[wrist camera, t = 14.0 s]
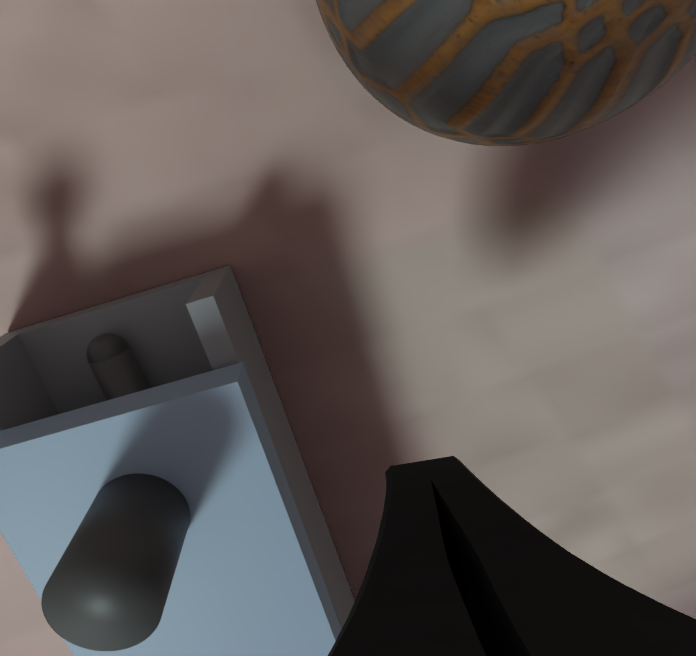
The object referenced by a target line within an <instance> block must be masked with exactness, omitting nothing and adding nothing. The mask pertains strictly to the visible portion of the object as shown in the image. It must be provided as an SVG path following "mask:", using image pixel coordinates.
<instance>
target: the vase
mask: <svg viewBox="0 0 696 656" xmlns="http://www.w3.org/2000/svg"><path fill="white" fill-rule="evenodd" d="M316 2H317V5H318V8H319V11H320V14H321V17H322V19H323V22H324V24H325V26H326V29H327V31H328V33H329V36H330V38H331V40H332V41H333V43H334V45H335V47H336V49H337V51H338V53H339V54H340V56H341V57H342V59H343V61H344V62H345V64H346V65H347V67H348V68H349V69H350V71H351V72H352V74H353V75H354V76H355V78H356V79H357V80H358V81H359V82H360V83H361V84H362V86H363V87H364V88H365V89H366V90H367V91H368V92H369V93H370V94H371V95H372V96H373V97H374V98H375V99H376V100H378V101H379V102H380V103H381V104H382V105H384V106H385V107H386V108H387V109H388V110H390V111H391V112H393V113H394V114H396V115H397V116H398V117H400V118H402V119H403V120H405V121H407V122H408V123H410V124H412V125H414V126H416V127H418V128H420V129H422V130H424V131H427V132H429V133H432V134H434V135H437V136H440V137H444V138H447V139H451V140H454V141H458V142H463V143H468V144H475V145H484V146H518V145H528V144H535V143H541V142H546V141H550V140H554V139H558V138H561V137H565V136H568V135H571V134H574V133H577V132H579V131H582V130H585V129H588V128H590V127H592V126H594V125H596V124H598V123H600V122H603V121H605V120H607V119H609V118H611V117H613V116H614V115H616V114H618V113H620V112H622V111H623V110H625V109H627V108H629V107H630V106H632V105H634V104H635V103H636V102H638V101H639V100H641V99H642V98H644V97H645V96H647V95H648V94H650V93H651V92H652V91H654V90H655V89H657V88H658V87H659V86H661V85H662V84H663V83H664V82H666V81H667V80H668V79H669V78H671V77H672V76H673V75H674V74H675V73H676V72H677V71H679V70H680V69H681V68H682V67H683V66H684V65H685V64H686V63H687V62H689V61H690V60H691V59H692V58H693V57H694V56H695V55H696V0H316Z"/></svg>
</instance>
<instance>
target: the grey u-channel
mask: <svg viewBox="0 0 696 656" xmlns="http://www.w3.org/2000/svg"><path fill="white" fill-rule="evenodd" d="M241 362H243V363H244V366H245V369H246V372H247V374H248V377H249V380H250V382H251V385H252V388H253V391H254V393H255V396H256V399H257V401H258V404H259V407H260V409H261V412H262V415H263V418H264V420H265V423H266V426H267V428H268V431H269V434H270V437H271V439H272V442H273V445H274V447H275V450H276V453H277V455H278V458H279V461H280V464H281V466H282V469H283V472H284V474H285V477H286V480H287V483H288V485H289V488H290V491H291V493H292V496H293V499H294V501H295V504H296V507H297V510H298V512H299V515H300V518H301V520H302V523H303V526H304V528H305V531H306V534H307V537H308V539H309V542H310V545H311V547H312V550H313V553H314V556H315V558H316V561H317V564H318V566H319V569H320V572H321V574H322V577H323V580H324V583H325V585H326V588H327V591H328V593H329V596H330V599H331V602H332V604H333V607H334V610H335V612H336V615H337V618H338V620H339V623H340V626H341V629H342V627H343V625H344V623H345V622H346V620H347V618H348V615H349V613H350V611H351V609H352V607H353V604H354V602H355V600H354V597H353V595H352V592H351V589H350V586H349V584H348V581H347V578H346V576H345V573H344V570H343V568H342V565H341V562H340V559H339V557H338V554H337V551H336V549H335V546H334V543H333V541H332V538H331V535H330V532H329V530H328V527H327V524H326V522H325V519H324V516H323V514H322V511H321V508H320V505H319V503H318V500H317V497H316V495H315V492H314V489H313V487H312V484H311V481H310V478H309V476H308V473H307V470H306V468H305V465H304V462H303V460H302V457H301V454H300V452H299V449H298V446H297V443H296V441H295V438H294V435H293V433H292V430H291V427H290V425H289V422H288V419H287V416H286V414H285V411H284V408H283V406H282V403H281V400H280V398H279V395H278V392H277V389H276V387H275V384H274V381H273V379H272V376H271V373H270V371H269V368H268V365H267V362H266V360H265V357H264V354H263V352H262V349H261V346H260V344H259V341H258V338H257V335H256V333H255V330H254V327H253V325H252V322H251V319H250V317H249V314H248V311H247V309H246V306H245V303H244V300H243V298H242V295H241V292H240V290H239V287H238V284H237V282H236V279H235V276H234V273H233V271H232V268H231V265H228V266H225V267H222V268H218V269H215V270H212V271H208V272H205V273H202V274H199V275H195V276H192V277H189V278H185V279H182V280H179V281H175V282H172V283H169V284H166V285H162V286H159V287H156V288H152V289H149V290H146V291H143V292H139V293H136V294H133V295H129V296H126V297H123V298H120V299H116V300H113V301H110V302H106V303H103V304H100V305H97V306H93V307H90V308H87V309H83V310H80V311H77V312H74V313H70V314H67V315H64V316H60V317H57V318H54V319H51V320H47V321H44V322H41V323H37V324H34V325H31V326H27V327H24V328H21V329H18V330H14V331H11V332H8V333H6V334H4V335H3V336H1V337H0V431H2V430H5V429H9V428H12V427H16V426H19V425H23V424H26V423H30V422H33V421H37V420H40V419H44V418H47V417H51V416H54V415H58V414H61V413H65V412H69V411H72V410H76V409H79V408H83V407H86V406H90V405H93V404H97V403H100V402H104V401H107V400H111V399H114V398H118V397H121V396H125V395H128V394H132V393H135V392H139V391H142V390H146V389H150V388H153V387H157V386H160V385H164V384H167V383H171V382H174V381H178V380H181V379H185V378H188V377H192V376H195V375H199V374H202V373H206V372H209V371H213V370H216V369H220V368H223V367H227V366H231V365H234V364H238V363H241Z"/></svg>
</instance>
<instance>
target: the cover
mask: <svg viewBox="0 0 696 656" xmlns="http://www.w3.org/2000/svg"><path fill="white" fill-rule="evenodd" d="M0 532H1V533H2V535H3V537H4V538H5V540H6V542H7V544H8V545H9V547H10V549H11V550H12V552H13V554H14V555H15V557H16V559H17V561H18V562H19V564H20V566H21V567H22V569H23V571H24V572H25V574H26V576H27V578H28V579H29V581H30V583H31V584H32V586H33V588H34V590H35V591H36V593H37V595H38V596H39V598H40V600H41V601H42V603H41V604H42V610H43V613H44V616H45V618H46V620H47V622H48V624H49V625H50V626H51V628H52V629H53V630H54V631H55V632H56V633H57V634H58V635H59V636H61V637H62V638H63V639H64V641H65V642H66V644H67V646H68V647H69V649H70V651H71V652H72V654H73V656H328V654H329V652H330V651H331V649H332V647H333V645H334V643H335V641H336V639H337V637H338V635H339V633H340V631H341V626H340V623H339V620H338V618H337V615H336V612H335V610H334V607H333V604H332V602H331V599H330V596H329V593H328V591H327V588H326V585H325V583H324V580H323V577H322V574H321V572H320V569H319V566H318V564H317V561H316V558H315V556H314V553H313V550H312V547H311V545H310V542H309V539H308V537H307V534H306V531H305V528H304V526H303V523H302V520H301V518H300V515H299V512H298V510H297V507H296V504H295V501H294V499H293V496H292V493H291V491H290V488H289V485H288V483H287V480H286V477H285V474H284V472H283V469H282V466H281V464H280V461H279V458H278V455H277V453H276V450H275V447H274V445H273V442H272V439H271V437H270V434H269V431H268V428H267V426H266V423H265V420H264V418H263V415H262V412H261V409H260V407H259V404H258V401H257V399H256V396H255V393H254V391H253V388H252V385H251V382H250V380H249V377H248V374H247V372H246V369H245V366H244V363H243V362H241V363H238V364H234V365H231V366H227V367H223V368H220V369H216V370H213V371H209V372H206V373H202V374H199V375H195V376H192V377H188V378H185V379H181V380H178V381H174V382H171V383H167V384H164V385H160V386H157V387H153V388H150V389H146V390H142V391H139V392H135V393H132V394H128V395H125V396H121V397H118V398H114V399H111V400H107V401H104V402H100V403H97V404H93V405H90V406H86V407H83V408H79V409H76V410H72V411H69V412H65V413H61V414H58V415H54V416H51V417H47V418H44V419H40V420H37V421H33V422H30V423H26V424H23V425H19V426H16V427H12V428H9V429H5V430H2V431H0Z"/></svg>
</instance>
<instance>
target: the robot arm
mask: <svg viewBox="0 0 696 656" xmlns="http://www.w3.org/2000/svg"><path fill="white" fill-rule="evenodd" d="M385 473H386V498H385V504H384V511H383V515H382V520H381V524H380V529H379V533H378V537H377V541H376V544H375V547H374V550H373V553H372V557H371V560H370V563H369V566H368V569H367V572H366V575H365V577H364V580H363V583H362V585H361V588H360V590H359V593H358V595H357V598H356V600H355V602H354V604H353V607H352V609H351V611H350V613H349V615H348V618H347V620H346V622H345V623H344V625H343V627H342V629H341V631H340V633H339V635H338V637H337V639H336V641H335V643H334V645H333V647H332V649H331V651H330V652H329V654H328V656H696V619H694V618H692V617H689V616H687V615H685V614H683V613H681V612H678V611H676V610H674V609H672V608H670V607H667V606H665V605H663V604H661V603H659V602H657V601H655V600H653V599H651V598H649V597H647V596H645V595H644V594H642V593H640V592H638V591H636V590H634V589H632V588H630V587H628V586H626V585H624V584H622V583H620V582H618V581H617V580H615V579H613V578H611V577H609V576H608V575H606V574H604V573H602V572H601V571H599V570H598V569H596V568H594V567H593V566H591V565H589V564H588V563H586V562H584V561H583V560H581V559H579V558H578V557H576V556H575V555H573V554H571V553H570V552H568V551H567V550H565V549H564V548H563V547H561V546H560V545H558V544H557V543H555V542H554V541H553V540H551V539H550V538H549V537H547V536H546V535H544V534H543V533H542V532H540V531H539V530H538V529H536V528H535V527H534V526H533V525H531V524H530V523H529V522H527V521H526V520H525V519H524V518H522V517H521V516H520V515H519V514H518V513H516V512H515V511H514V510H513V509H512V508H510V507H509V506H508V505H507V504H506V503H504V502H503V501H502V500H501V499H500V498H499V497H497V496H496V495H495V494H494V493H493V492H492V491H491V490H490V489H489V488H487V487H486V486H485V485H484V484H483V483H482V482H481V481H480V480H479V479H478V478H477V477H476V476H475V475H474V474H473V473H472V472H470V471H469V470H468V469H467V468H466V467H465V466H464V465H463V464H462V463H461V462H460V461H459V460H458V459H457V458H455V457H454V456H450V457H444V458H438V459H432V460H426V461H420V462H413V463H407V464H401V465H395V466H390V467H389V469H388V470H387V471H386V472H385Z"/></svg>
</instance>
